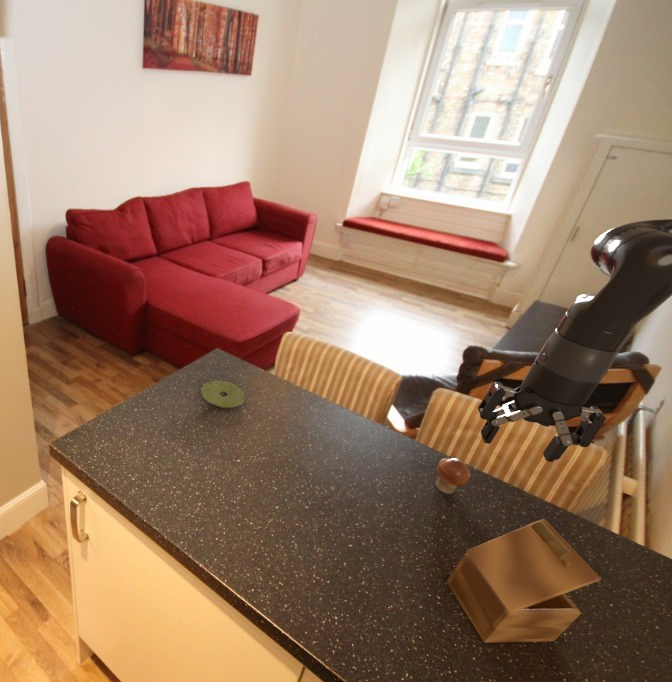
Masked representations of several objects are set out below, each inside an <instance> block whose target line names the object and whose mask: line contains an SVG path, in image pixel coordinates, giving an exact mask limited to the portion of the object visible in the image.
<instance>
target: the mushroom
mask: <svg viewBox="0 0 672 682" xmlns="http://www.w3.org/2000/svg"><path fill="white" fill-rule="evenodd" d="M435 471H436V474H437V476H438V478H437V479H436V482H435V487H436V488H437V490H438V491H440V492H442V493H444V494H447V495H452V494H453V493H454V492H455V490H456V488H457V487H463V486H466V485H467V483H468V481H469V480H470V478H471V476H472V473H471V471H470V470H469V468H468V466H467V464H466V463H465V462H464V461H462V460H460V459H459V458H454V457H451V458H442V459H440V461H439V462H438V465H437V466H436V469H435Z"/></svg>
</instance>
